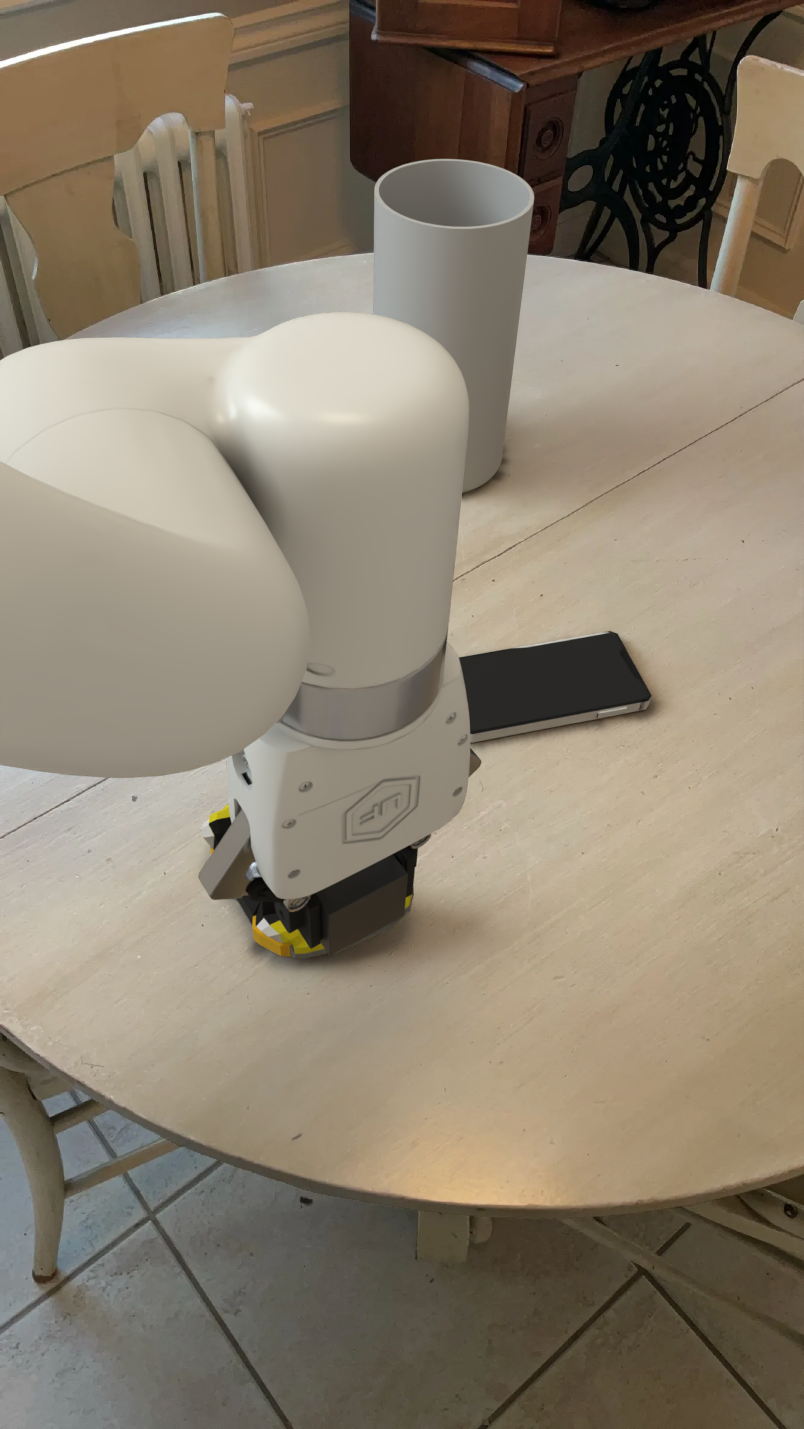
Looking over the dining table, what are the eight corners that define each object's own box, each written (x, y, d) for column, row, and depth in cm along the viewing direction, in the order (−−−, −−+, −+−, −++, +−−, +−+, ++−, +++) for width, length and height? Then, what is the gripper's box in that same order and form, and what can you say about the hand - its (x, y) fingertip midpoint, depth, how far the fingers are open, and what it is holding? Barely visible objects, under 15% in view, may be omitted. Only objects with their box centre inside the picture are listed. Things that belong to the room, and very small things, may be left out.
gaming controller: (313, 770, 76) (186, 829, 73) (310, 721, 72) (175, 780, 68) (425, 928, 68) (288, 1003, 64) (429, 883, 64) (283, 961, 60)
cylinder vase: (528, 466, 101) (567, 200, 82) (429, 516, 95) (446, 244, 76) (442, 407, 107) (460, 146, 88) (345, 451, 102) (342, 183, 83)
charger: (329, 957, 52) (328, 915, 49) (287, 891, 54) (283, 847, 51) (408, 914, 54) (411, 872, 51) (363, 852, 56) (364, 808, 53)
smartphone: (436, 659, 82) (615, 628, 85) (436, 670, 83) (612, 638, 86) (466, 736, 77) (655, 700, 80) (465, 747, 78) (651, 711, 81)
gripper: (184, 813, 35) (230, 1043, 49) (582, 631, 41) (523, 880, 55) (97, 670, 39) (162, 921, 53) (471, 524, 45) (442, 782, 59)
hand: (347, 898), depth 54 cm, fingers closed on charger, 4 cm apart
